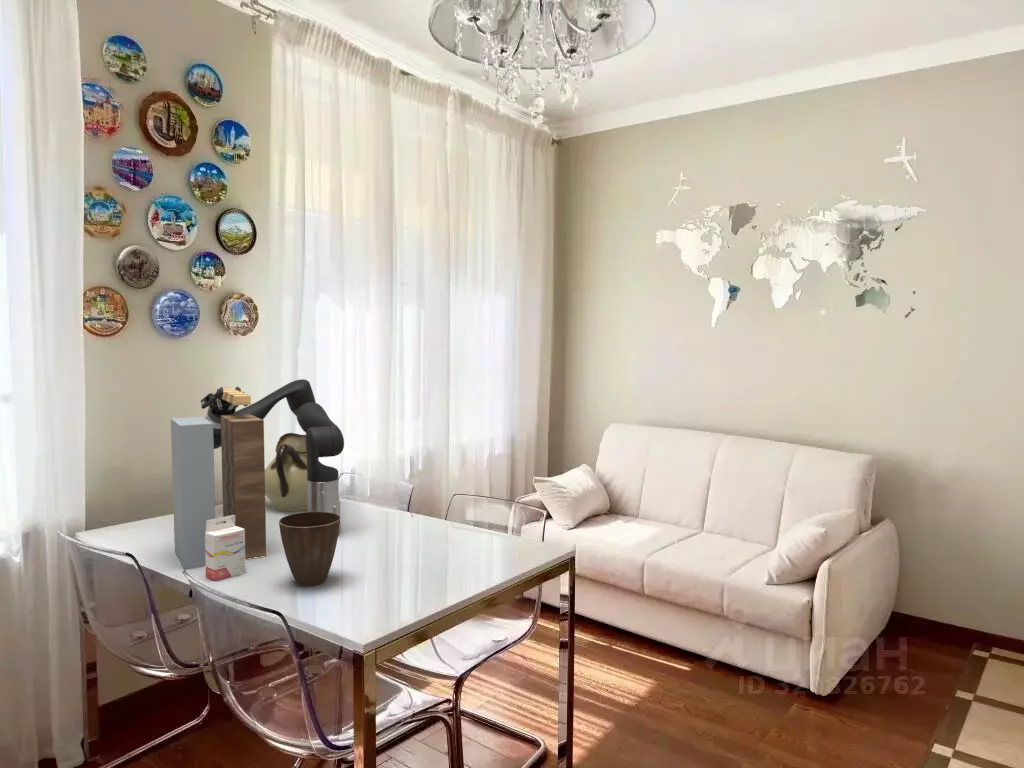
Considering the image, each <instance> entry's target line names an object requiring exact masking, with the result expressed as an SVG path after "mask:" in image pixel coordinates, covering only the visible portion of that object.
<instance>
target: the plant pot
mask: <svg viewBox="0 0 1024 768" xmlns="http://www.w3.org/2000/svg"><path fill="white" fill-rule="evenodd" d="M340 521H341V515H340V516H339V515H337V514H334V513H329V512H308V511H304V512H296V513H290V514H288V515H285V516H283V517H281V518H279V520H278V526H279V527H278V528H279V531H280V539H281V542H282V548H283V551H284V554H285V558H286V561H287V564H288V567H289V569H290V572H291V575H292V577H293V580H294V582H295V583H296V585H297V586H302V587H303V586H304V587H313V586H318V585H321V584H324V583H325V582H326V580H327V578H328V575H329V574H330V570H331V567H332V563H333V560H334V556H335V553H336V550H337V549H336V548H337V545H338V544H337V543H338V538H339V535H338V533H339V526H340ZM339 534H340V533H339Z"/></svg>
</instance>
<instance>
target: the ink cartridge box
mask: <svg viewBox="0 0 1024 768" xmlns="http://www.w3.org/2000/svg"><path fill="white" fill-rule="evenodd" d="M223 521H226V523H224V524H223V523H220V522H223ZM217 523H220V524H217ZM205 561H206V566H205V577H206V578H208V579H211V580H212V581H214V582H215V581H220V580H224V579H228V578H230V577H234V576H238V575H242V574H246V560H245V529H243V528H240V527H237V526H235V515H231V516H226V517H223V516H222V517H217V518H216V517H215V519H212V520H207V521H206V532H205Z"/></svg>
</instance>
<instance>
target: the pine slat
mask: <svg viewBox="0 0 1024 768" xmlns="http://www.w3.org/2000/svg"><path fill="white" fill-rule="evenodd" d="M243 392H244V391H241V392H240V391H238V390H235V388H232V387H228V388H225V387H224V388H223V396H222V398H221V399H223V400H225V401H227V402H230V403H232V404H234V405H239V406H244V405H248V406H249V405H252V402H251V400H252V399H251V398H252V397H251V394H250V395H249V394H248V393H246V392H244V393H243Z"/></svg>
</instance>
